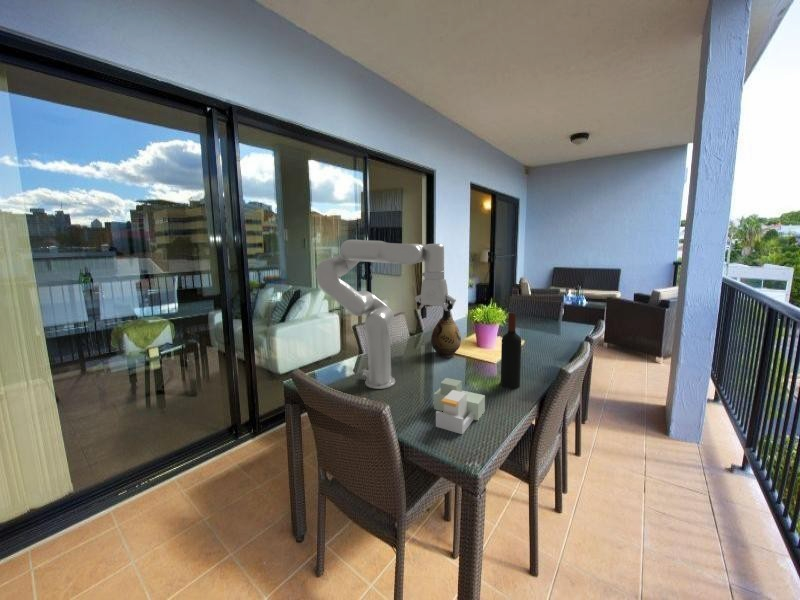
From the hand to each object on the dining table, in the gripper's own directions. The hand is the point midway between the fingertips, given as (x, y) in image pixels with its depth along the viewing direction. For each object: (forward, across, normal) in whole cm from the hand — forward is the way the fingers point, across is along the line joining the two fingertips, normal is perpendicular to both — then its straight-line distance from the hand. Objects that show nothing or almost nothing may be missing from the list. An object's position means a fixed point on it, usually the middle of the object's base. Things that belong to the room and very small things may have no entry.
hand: (434, 319), depth 134 cm
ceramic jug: (+28, -13, +39) cm, 50 cm away
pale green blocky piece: (+28, +16, -18) cm, 37 cm away
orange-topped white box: (+28, +18, -22) cm, 40 cm away
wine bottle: (+28, +26, +16) cm, 42 cm away
